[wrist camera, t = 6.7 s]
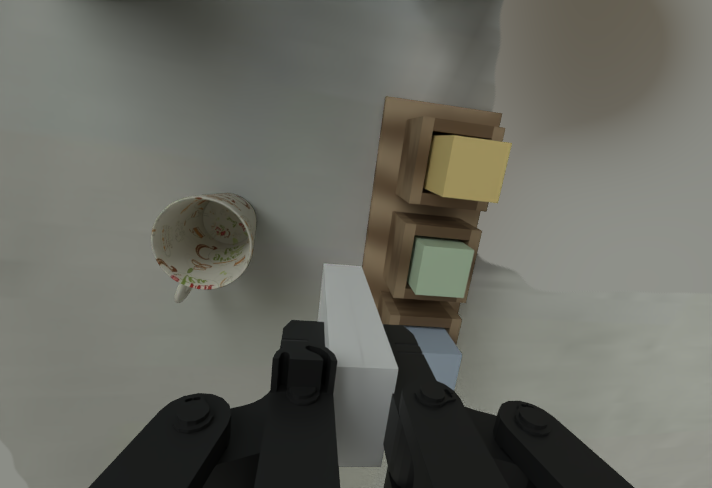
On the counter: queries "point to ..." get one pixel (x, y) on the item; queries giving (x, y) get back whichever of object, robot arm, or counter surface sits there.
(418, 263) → the button sage
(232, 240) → the mug
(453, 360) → the button slate
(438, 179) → the button ochre
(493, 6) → the counter surface
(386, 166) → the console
